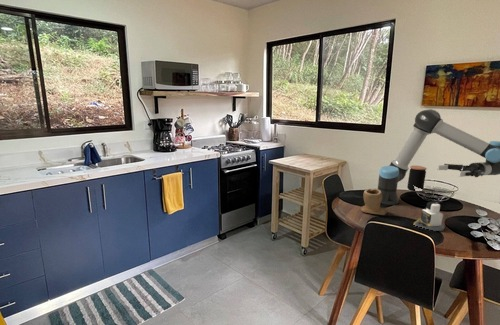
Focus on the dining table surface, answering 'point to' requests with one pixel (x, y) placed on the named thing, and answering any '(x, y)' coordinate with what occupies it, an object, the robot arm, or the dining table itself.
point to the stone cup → (373, 202)
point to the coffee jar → (416, 177)
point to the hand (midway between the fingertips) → (448, 170)
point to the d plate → (423, 225)
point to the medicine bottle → (432, 214)
